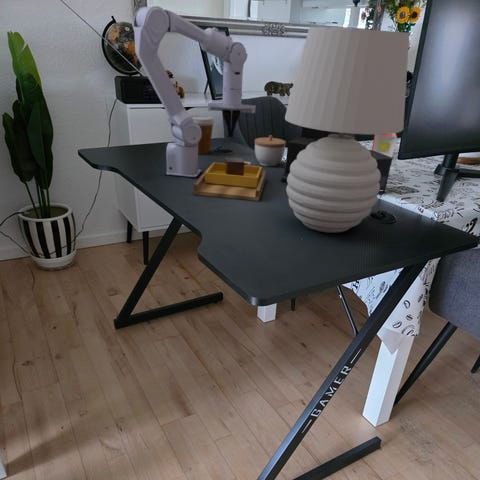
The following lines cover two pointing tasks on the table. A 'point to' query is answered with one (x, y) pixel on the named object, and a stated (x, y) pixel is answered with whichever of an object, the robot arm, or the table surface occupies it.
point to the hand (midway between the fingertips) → (230, 136)
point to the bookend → (302, 145)
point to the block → (234, 166)
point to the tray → (218, 175)
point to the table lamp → (344, 121)
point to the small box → (382, 168)
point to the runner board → (229, 189)
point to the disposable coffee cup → (204, 132)
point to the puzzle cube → (384, 143)
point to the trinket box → (269, 150)
